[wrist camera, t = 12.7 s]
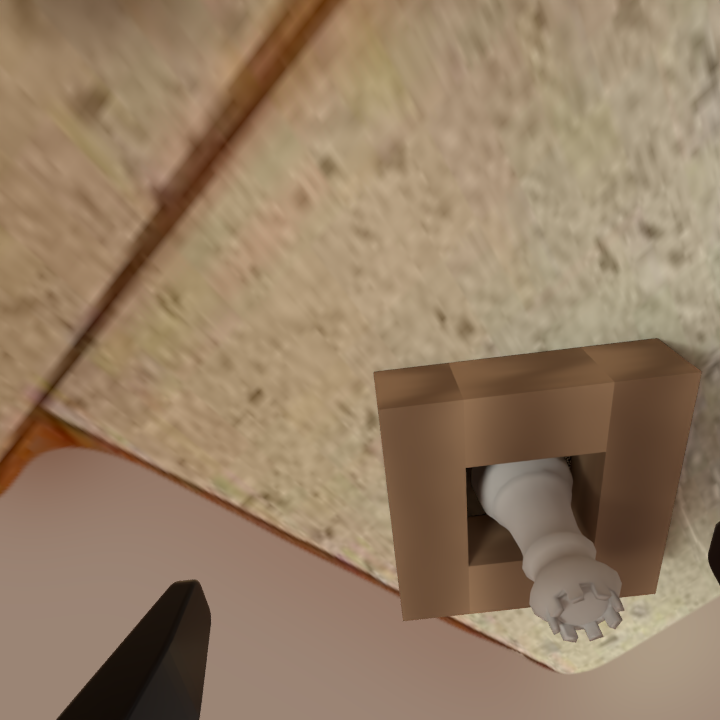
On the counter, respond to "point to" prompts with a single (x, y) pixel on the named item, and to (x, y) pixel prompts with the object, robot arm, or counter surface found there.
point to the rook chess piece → (551, 544)
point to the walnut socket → (524, 443)
